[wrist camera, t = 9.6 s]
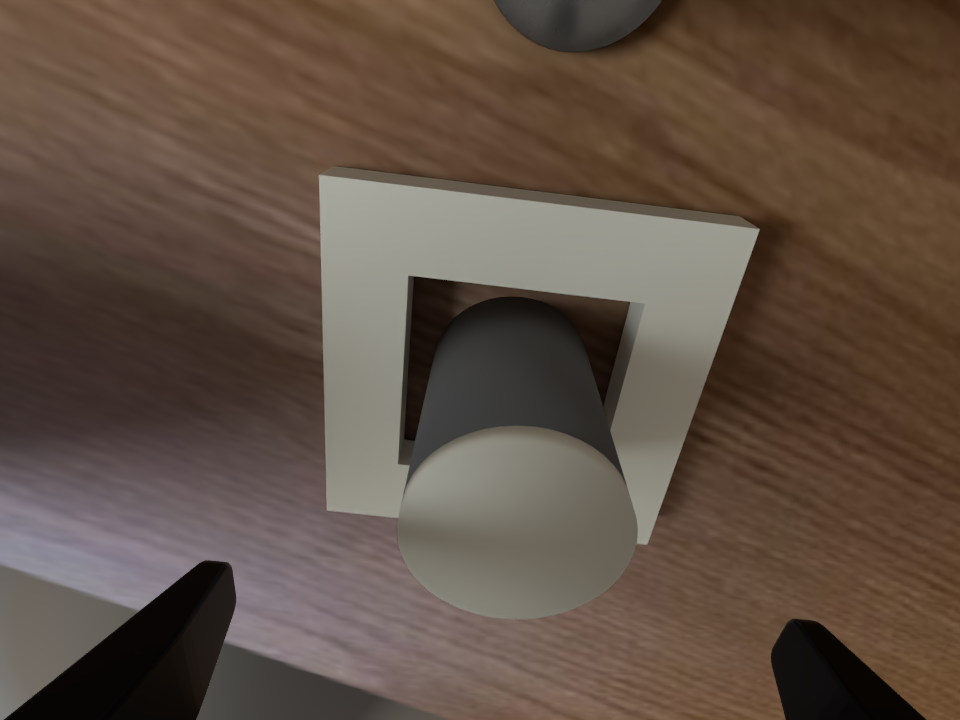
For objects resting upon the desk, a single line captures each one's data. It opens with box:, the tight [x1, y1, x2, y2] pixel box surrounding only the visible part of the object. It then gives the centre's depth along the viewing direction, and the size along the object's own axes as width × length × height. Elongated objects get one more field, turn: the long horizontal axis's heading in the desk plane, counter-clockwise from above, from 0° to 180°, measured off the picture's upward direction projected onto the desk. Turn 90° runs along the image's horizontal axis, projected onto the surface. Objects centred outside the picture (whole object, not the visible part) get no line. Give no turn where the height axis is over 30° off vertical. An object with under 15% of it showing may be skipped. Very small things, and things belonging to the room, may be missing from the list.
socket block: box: [319, 166, 760, 545], centre depth 15 cm, size 10×10×1 cm
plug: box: [397, 297, 638, 619], centre depth 13 cm, size 4×4×6 cm
